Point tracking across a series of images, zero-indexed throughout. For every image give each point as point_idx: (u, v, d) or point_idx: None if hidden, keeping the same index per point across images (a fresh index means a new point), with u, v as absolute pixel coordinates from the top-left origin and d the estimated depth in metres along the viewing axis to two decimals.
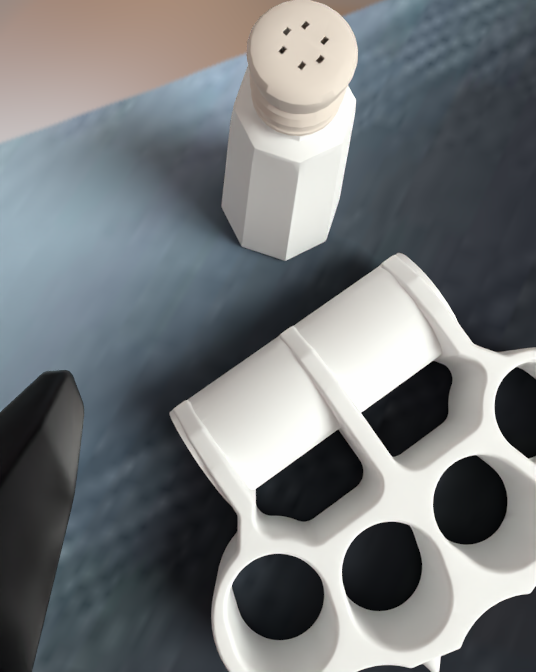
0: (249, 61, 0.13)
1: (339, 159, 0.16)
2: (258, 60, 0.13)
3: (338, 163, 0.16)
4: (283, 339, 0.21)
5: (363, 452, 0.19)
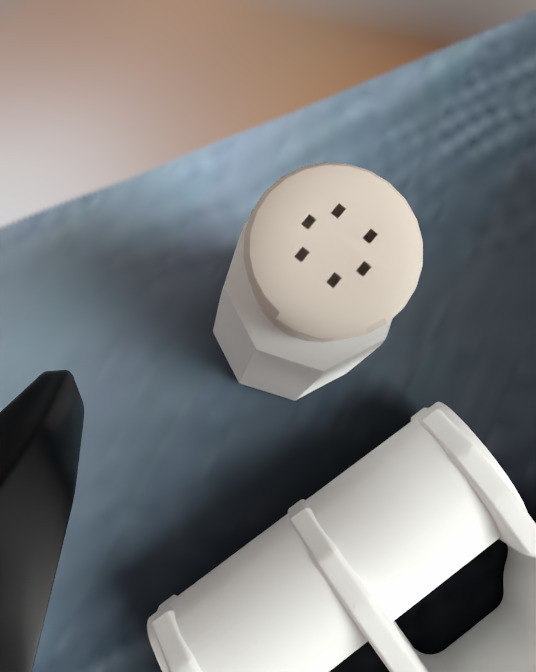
0: (248, 268, 0.08)
1: (378, 346, 0.11)
2: (263, 271, 0.08)
3: (376, 348, 0.11)
4: (295, 527, 0.16)
5: None
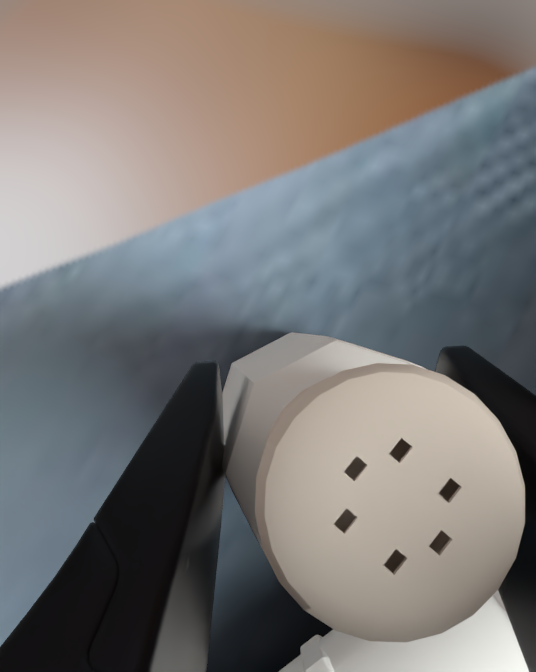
0: (262, 534, 0.05)
1: None
2: (286, 547, 0.05)
3: None
4: None
5: None
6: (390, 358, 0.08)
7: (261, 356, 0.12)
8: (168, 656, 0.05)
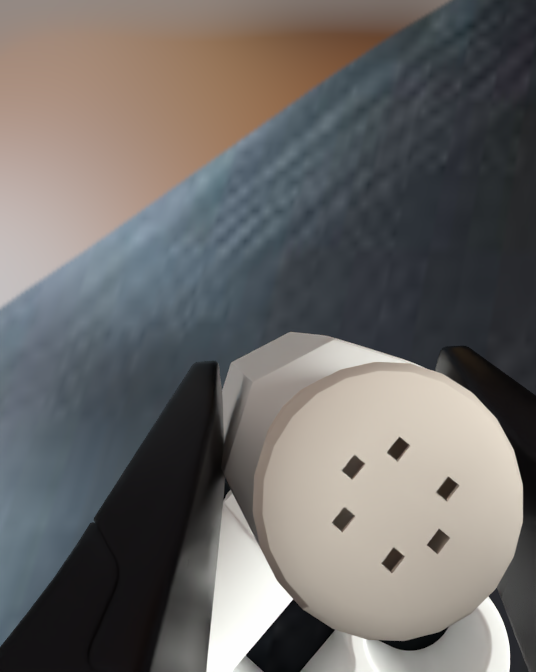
0: (260, 532, 0.05)
1: None
2: (283, 545, 0.05)
3: None
4: None
5: None
6: (388, 357, 0.08)
7: (260, 355, 0.12)
8: (168, 656, 0.05)
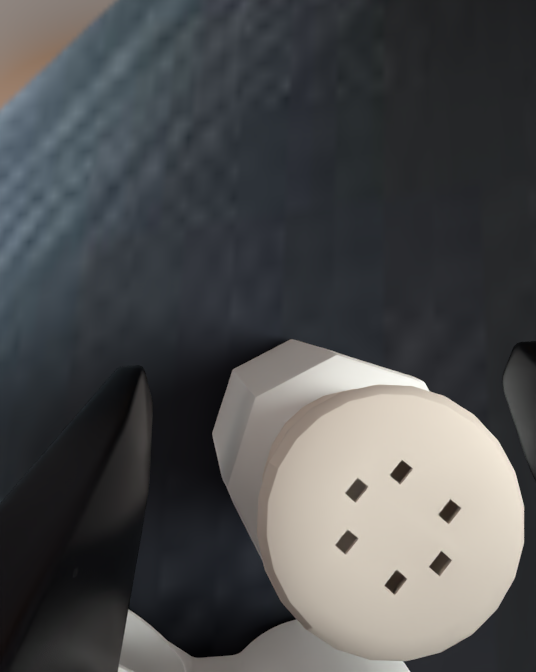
0: (264, 555, 0.05)
1: None
2: (287, 568, 0.05)
3: None
4: None
5: None
6: (390, 373, 0.08)
7: (262, 365, 0.12)
8: (38, 666, 0.05)
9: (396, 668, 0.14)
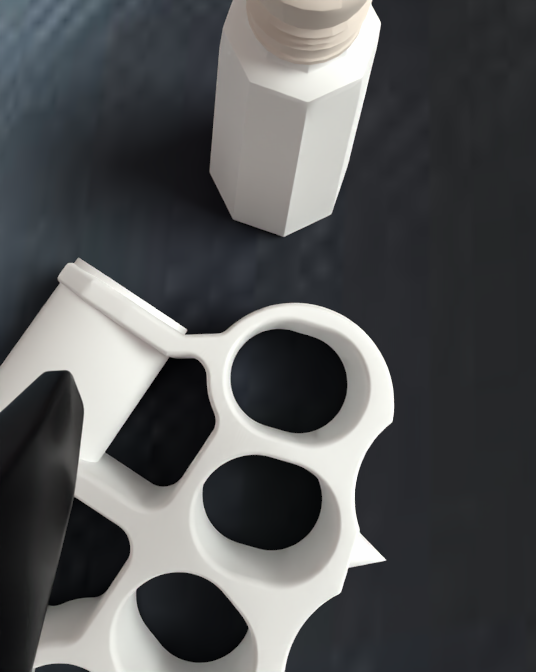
0: None
1: (356, 102, 0.13)
2: None
3: (355, 108, 0.13)
4: None
5: (96, 510, 0.16)
6: None
7: None
8: None
9: None
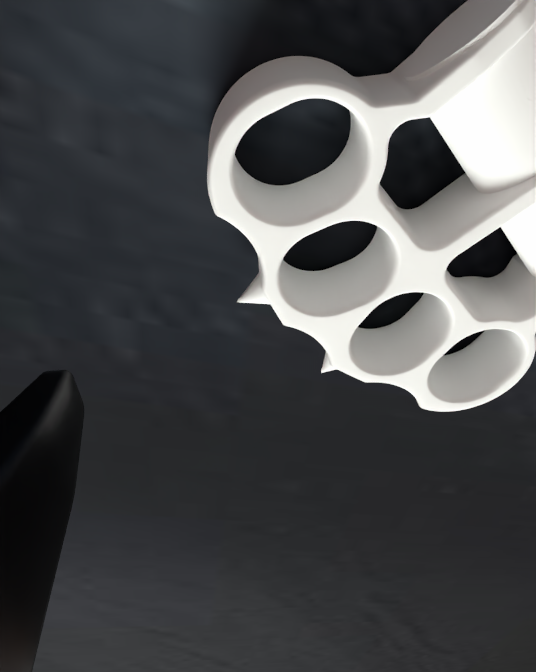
0: None
1: None
2: None
3: None
4: None
5: (467, 227, 0.19)
6: None
7: None
8: None
9: None
